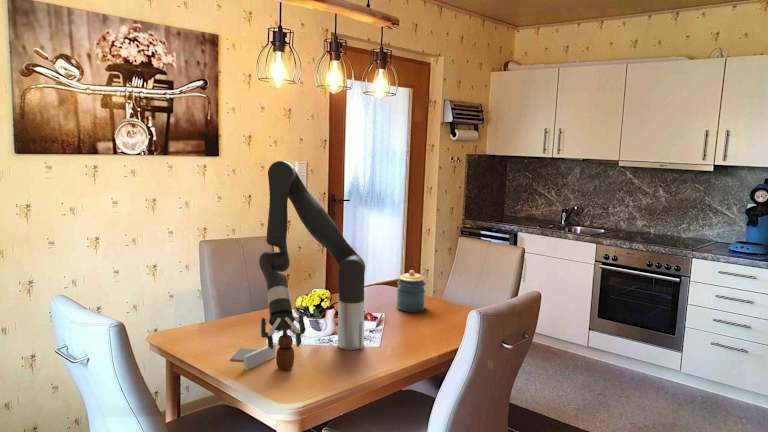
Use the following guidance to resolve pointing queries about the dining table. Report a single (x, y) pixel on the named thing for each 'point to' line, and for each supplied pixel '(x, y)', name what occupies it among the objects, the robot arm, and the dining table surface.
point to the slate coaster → (241, 354)
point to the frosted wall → (258, 357)
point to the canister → (411, 292)
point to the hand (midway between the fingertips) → (285, 346)
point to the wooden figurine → (285, 351)
